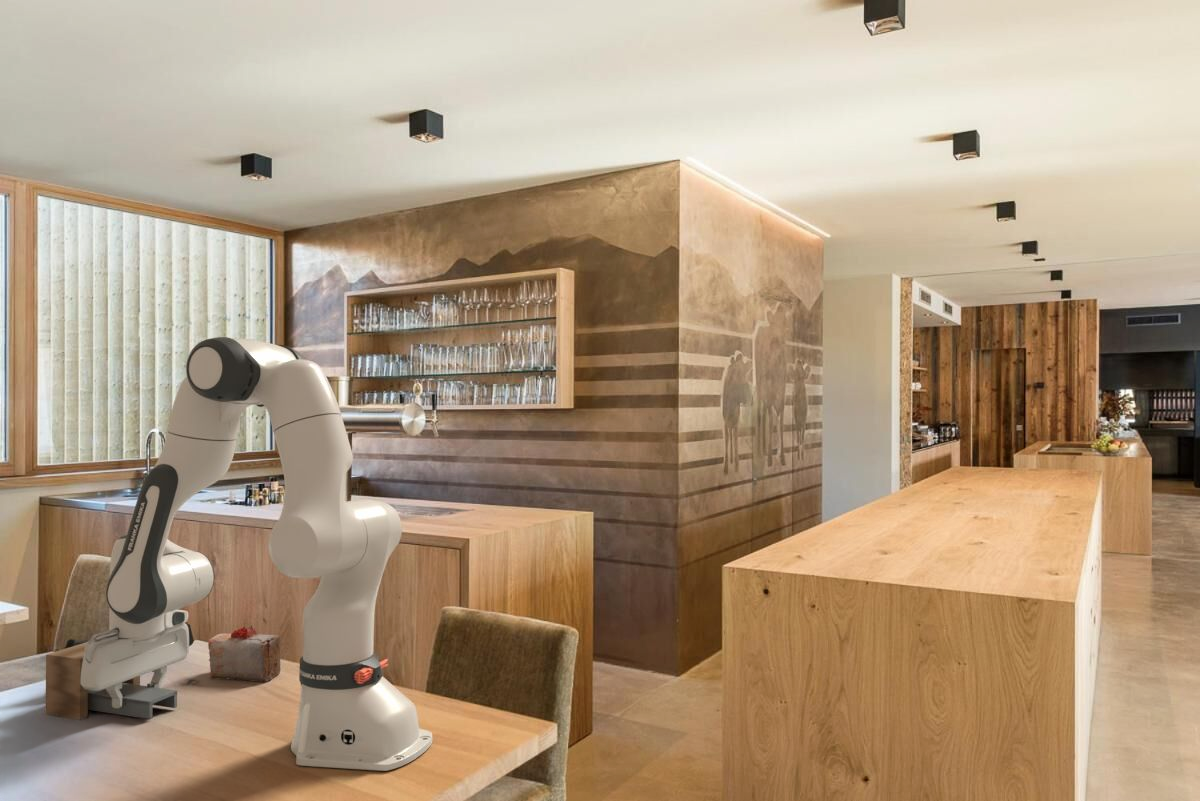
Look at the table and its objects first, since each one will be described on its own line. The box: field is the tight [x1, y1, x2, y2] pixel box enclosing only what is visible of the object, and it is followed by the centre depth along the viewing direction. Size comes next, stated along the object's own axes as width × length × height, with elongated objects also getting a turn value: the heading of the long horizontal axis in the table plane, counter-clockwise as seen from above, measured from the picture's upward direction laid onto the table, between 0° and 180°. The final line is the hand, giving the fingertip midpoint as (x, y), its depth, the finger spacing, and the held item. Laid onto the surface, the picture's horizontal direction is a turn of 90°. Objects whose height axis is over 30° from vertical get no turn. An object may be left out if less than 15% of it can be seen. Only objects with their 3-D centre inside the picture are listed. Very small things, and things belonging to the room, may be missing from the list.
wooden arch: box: [44, 641, 141, 720], centre depth 152 cm, size 8×12×10 cm, turn 162°
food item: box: [207, 624, 282, 682], centre depth 168 cm, size 14×8×10 cm, turn 80°
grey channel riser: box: [88, 683, 178, 720], centre depth 150 cm, size 20×6×3 cm, turn 72°
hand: (137, 699), depth 149 cm, fingers closed on grey channel riser, 6 cm apart
